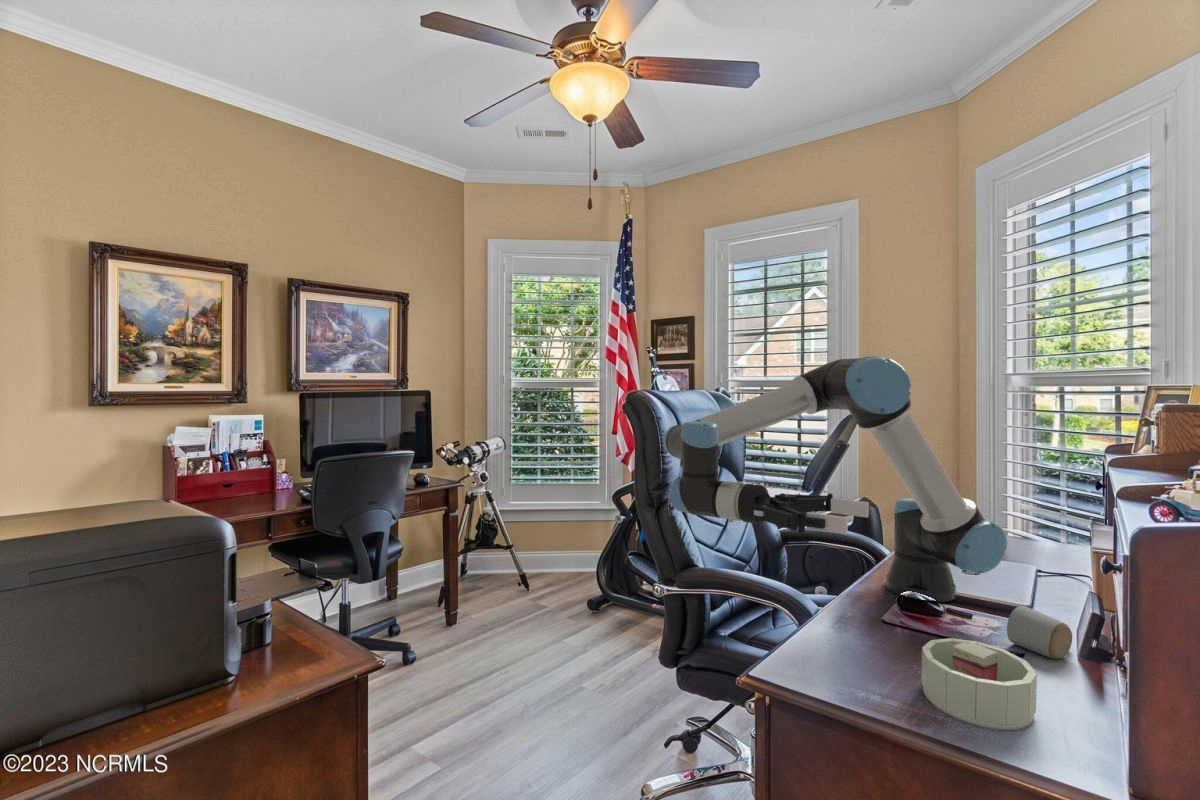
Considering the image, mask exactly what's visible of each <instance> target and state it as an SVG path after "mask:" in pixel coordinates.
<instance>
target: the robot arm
mask: <svg viewBox="0 0 1200 800" xmlns="http://www.w3.org/2000/svg"><path fill="white" fill-rule="evenodd" d="M911 388H912V384H911V379H910V376H909V374H908V372H907V371H906V370H905V368H904V367H903V366H902V365H901V364H899V363H898V362H896V361H895V360H893V359H891V358H886V357H880V356H874V355H873V356H865V357H859V358H858V357H857V358H841V359H836V360H832V361H830V362H827V363H825V364H823V365H820V366H818V367H816V368H814V369H812V370H808V371H807V372H804V373H802V374H801V375H797V376H795V377H794V378H793V379H792V382H791V383H788V384H786V385H784V386H781V387H779V388H776V389H773V390H770V391H768V392H765V393H762V394H760V395H758V396H754V397H752V398H750V399H746V400H744V401H741V402H739V403H737V404H734V405H731V406H729V407H727V408H724V409H720V410H718V411H716V412H713V413H710V414H709V415H706V416H702V417H701V418H698V419H695V420H692V421H685V422H684V423H683V424H675V425H672V426H670V427H669V428H668V429H667V430H666V431H665V433H664V435H663V441H662V442H663V446H664V449H665V450H666V451H667V452H668V453H669V455H671V457H674V458H676V459H678V460H681V469H682V471H681V476H678V477H676V478H675V479H674V480H673V481H672V483H671V490H670V492H669V498H670V503H671V505H672V507H673V508H674V509H675V510H676V511H678V512H681V513H682V512H683V513H685V514H690V515H692V516H693V515H694V516H703V517H709V518H710V517H712V518H718V519H726V520H727V521H728V522H729V523H733V522H734V521H737V522H740V521H742V522H744V523H747V524H748V523H749V524H754V525H755V524H756V525H761V524H763V523H764V522H767V523H770V524H772V525H775V526H777V527H779V526H780V527H782V528H785V529H787V530H790V531H798V533H800V534H805V533H806V529H808V530H813V531H822V532H827V533H834V534H835V533H836V534H842V535H847V534H848V517H847V516H853V517H861V518H866V519H867V518H869V502H868V501H861V500H860V501H859V500H852V499H851V500H850V499H845V498H844V499H843V498H834V497H833V496H834V495H833V493H827V495H825V494H824V495H823V494H818V495H817V494H816V495H815V494H788V493H779V494H774V496H771V495H770V494H769V492H768V489H767V487H766V486H764V485H762V484H761V485H760V484H753V483H746V484H745V483H744V482H736V481H726V480H720V479H719V447H720V446H722V445H725V444H727V443H730V442H732V441H736V440H738V439H740V438H743V437H745V436H748V435H750V434H753V433H757V432H758V431H761V430H763V429H765V428H768V427H771V426H773V425H776V424H779V423H781V422H785V421H787V420H789V419H792V418H794V417H797V416H799V415H802V414H804V413H805V414H808V415H813V414H816V413H818V412H822V411H827V410H828V411H829V410H845V411H849V413H850V415H851V416H852V418H853V419H854V420H855V422H856V424H857V426H858V427H859V428H860V429H861V430H862V429H863V430H867V431H870V432H871V434H872V435H873V437H874V439H875V440H876V442H877V444H878V445H879V447H880V448H881V449H882V450H881V451H883V453H884V455H885V456H886V458H887V460H888V461H889V463H890V464H891V466H892V467H893V469H894V471H895V472H896V473H897V475H898V477H899V479H900V480H901V481H902V483H903V485H904V487H905V488H906V490H907V492H908V493H909V494H910V496H911V498H910V497H908V498H907V497H906V498H905V497H904V498H900V499H897V501H896V502H895V507H894V513H893V516H894V539H893V540H894V542H893V543H894V546H893V548H894V549H893V551H894V554H893V559H892V561H891V564H890V568H889V570H888V571H889V572H888V573H887V575H886V576H885V587H886V588H887V590H888V591H890V592H891V593H894V594H896V595H898V596H900V595H899V594H901V593H903V592H906V591H912V592H917V593H920V594H923V595H926V596H928V597H931V598H933V599H935V600H936V601H938V602H937V603H945V602H951V601H953V600H955V599H956V598H955V597H954V596H955V592H956V593H957V587H956V584H955V582H954V579H953V574H952V571H951V568H950V566H949V564H950V565H953V566H954V567H957V568H958V569H960V570H962V571H965V572H966V571H967V572H969V573H973V574H985V573H988V572H990V571H992V570H993V569H995V568H997V566H998V565H999V564H1000V563H1001V562H1002V561H1003V559H1004V558H1005V553H1006V550H1007V548H1008V540H1007V539H1008V538H1007V535H1006V533H1005V531H1004V529H1003V528H1002V527H1001V526H1000V525H998V524H997V523H995V522H994V521H991V520H986V519H985V518H984V517H983V515H982V513H981V511H980V509H978V507H977V505H976V503H975V502H974V501H973V500H971V499H969V498H965V497H962V494H960V492H959V490H958V489H957V487H956V485H955V484H954V482H953V480H952V479H951V478H950V477H949V475H948V473H947V471H946V470H945V468H944V467H943V465H942V463H941V461H940V459H939V458H938V457H937V455H936V454H935V452H934V450H933V448H932V447H931V445H930V443H929V442H928V440H927V439H926V437H925V436H924V434H923V432H922V431H921V429H920V427H919V425H918V424H917V423H916V421H915V419H914V418H913V417H912V415H911V412H910V409H911V407H912V406H913V401H912V400H911V397H910V396H911V391H910V389H911ZM805 512H806V513H805ZM818 512H830V514H825V513H818ZM835 514H837V515H835ZM840 515H844V516H840ZM845 515H846V516H845Z"/></svg>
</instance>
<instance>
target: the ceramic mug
mask: <svg viewBox="0 0 1200 800" xmlns="http://www.w3.org/2000/svg"><path fill="white" fill-rule="evenodd" d="M1006 635H1007V638H1008V640H1009V641H1010V642H1011V643H1012V644H1014V645H1017V646H1018V647H1022V648H1023V649H1026V650H1029V651H1032V652H1034V653H1037V654H1040V655H1041V656H1044V657H1047V658H1050V659H1055V660H1060V659H1063V658H1064V657H1066V656H1067V654H1068V653H1069V651H1070V649H1071V647H1072V643H1073V633H1072V630H1071V628H1070V626H1068V624H1066V623H1065V622H1063V621H1061V620H1059V619H1057V618H1055V617H1052V616H1049V615H1046V614H1044V613H1042V612H1039V611H1038V610H1035V609H1033V608H1030V607H1028V606H1026V605H1019V606H1017V607H1015V608H1014V609H1013V610H1012V611H1011V612H1010V615H1009V617H1008V621H1007V624H1006Z"/></svg>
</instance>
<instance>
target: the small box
mask: <svg viewBox="0 0 1200 800" xmlns="http://www.w3.org/2000/svg"><path fill="white" fill-rule="evenodd" d="M969 641H970V640H969ZM969 641H964V642H961V643H959V644H956V645H954V646H953V661H952V670H954V671H957V672H960V673H963V674H966V675H969V676H972V677H975V678H979V679H986V680H993V681H997V665H998V653H997V652H995V651H992V650H990V649H987V648H985V647H983V646H980V645H977V644H974V643H972V642H969Z"/></svg>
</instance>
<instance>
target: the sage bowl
mask: <svg viewBox="0 0 1200 800" xmlns="http://www.w3.org/2000/svg"><path fill="white" fill-rule="evenodd" d="M964 641H969V642H972V643H974V644H977V645H980V646H983V647H985V648H987V649H990V650H992V651H995V652H997V653H998V665H997V681H993V680H986V679H979V678H975V677H972V676H969V675H966V674H963V673H960V672H957V671H954V670H952V661H953V646H954V645H956V644H959V643H961V642H964ZM1037 676H1038V675H1037V672H1036V671H1035V669H1034V668H1033V667H1032V666H1031V665H1030V663H1029V662H1028V661H1027V660H1025V659H1024V658H1022V657H1019V656H1017V655H1016V654H1014V653H1011V651H1010V652H1009V651H1008V650H1006V649H1003V648H1000V647H997V646H993V645H990V644H986V643H983V642H979V641H976V640H975V641H974V640H967V639H959V638H951V637H950V638H939V639H931V640H930V641H928V642H926V643H925V645H923V646H922V648H921V684H922V692H923V695H924V697H925V696H926V697H925V698H926V700H927V699H928V700H929V701H930V702H931V703H932V704H933V705H932V704H931V703H930V702H929V701H928V700H927V701H928V702H929V703H930V704H931V705H932V706H934V707H935V708H936V709H938V710H939V711H941V712H943V713H944V714H946V715H948V716H949V717H951V718H954V719H957V720H958V721H961V722H963V723H967V724H970V725H973V726H976V727H980V728H984V729H989V730H995V731H996V730H997V731H1010V732H1011V731H1012V732H1013V731H1019V730H1023V729H1026V728H1028V727H1031V725H1032V724H1033V723H1034V716H1035V714H1036V712H1037V683H1038V682H1037V680H1038V679H1037V678H1038V677H1037Z"/></svg>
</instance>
